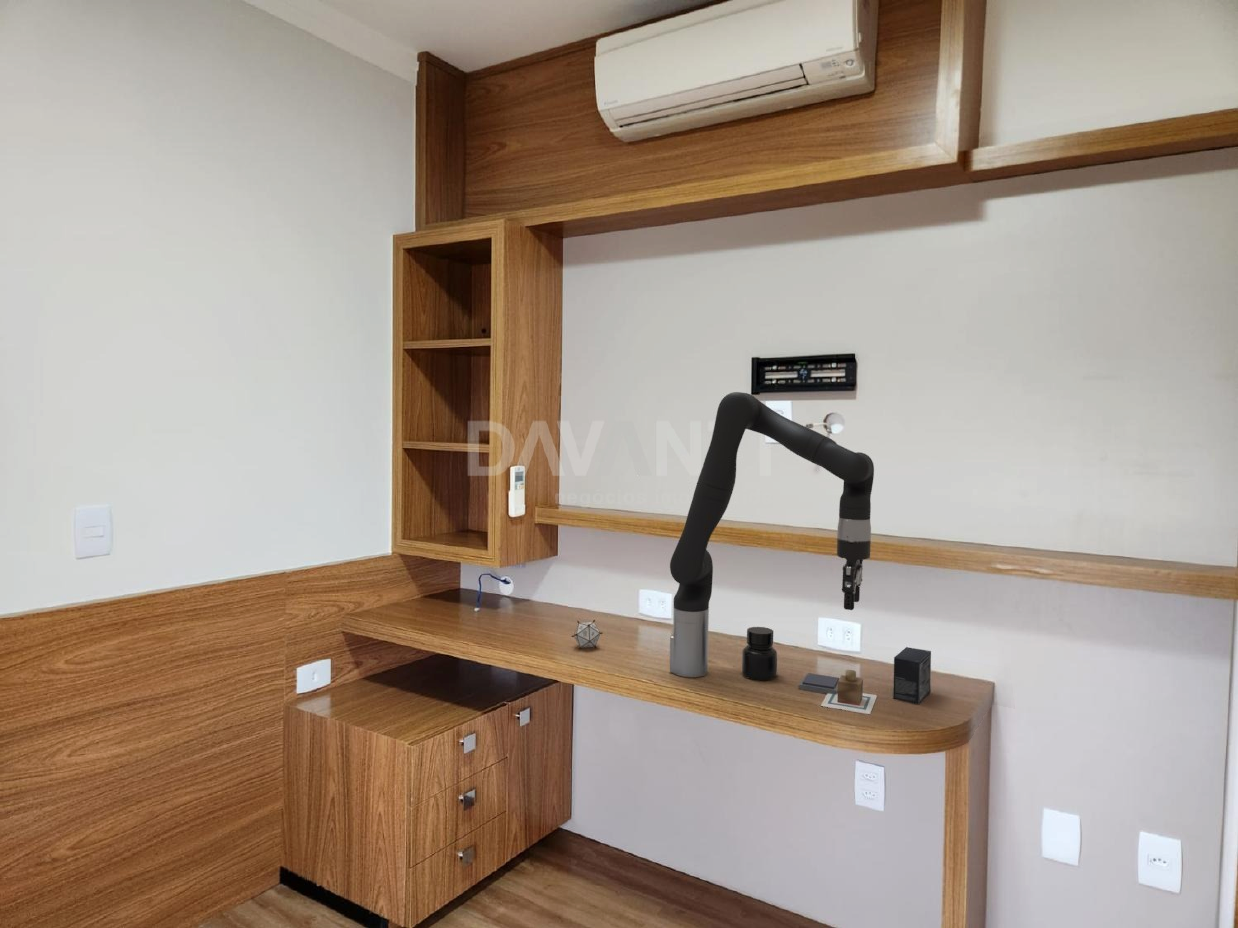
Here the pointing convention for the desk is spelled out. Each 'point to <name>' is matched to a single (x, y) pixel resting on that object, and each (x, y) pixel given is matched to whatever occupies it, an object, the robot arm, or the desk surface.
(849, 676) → the stamp
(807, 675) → the ink pad
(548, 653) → the desk surface
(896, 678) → the small box
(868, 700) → the sheet
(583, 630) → the game die
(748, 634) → the ink bottle
